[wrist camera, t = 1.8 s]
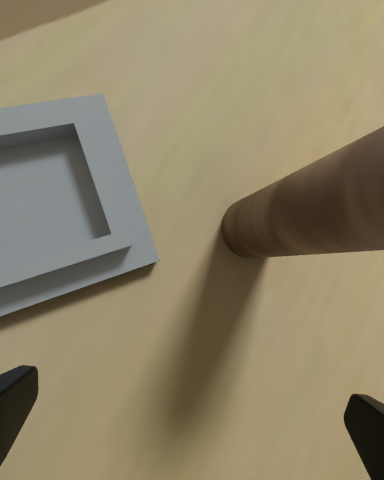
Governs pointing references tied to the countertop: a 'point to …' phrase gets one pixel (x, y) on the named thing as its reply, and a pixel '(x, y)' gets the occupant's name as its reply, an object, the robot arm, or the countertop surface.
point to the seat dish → (65, 202)
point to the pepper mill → (315, 207)
